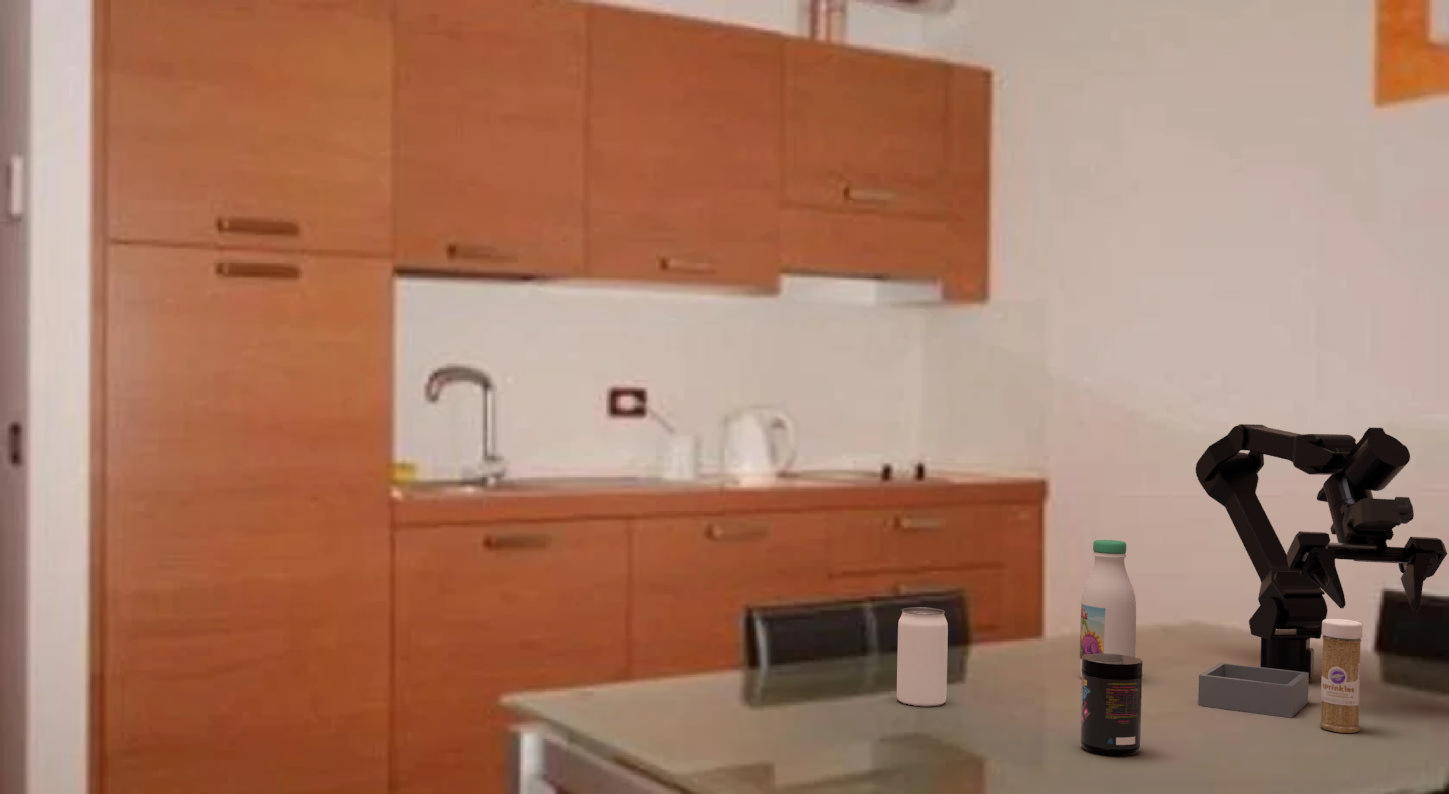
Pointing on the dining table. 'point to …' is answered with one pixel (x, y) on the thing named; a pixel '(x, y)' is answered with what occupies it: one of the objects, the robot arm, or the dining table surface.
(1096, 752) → the supplement container
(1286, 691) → the bin
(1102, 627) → the milk bottle
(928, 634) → the can
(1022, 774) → the dining table surface
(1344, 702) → the sprinkles bottle
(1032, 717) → the dining table surface
